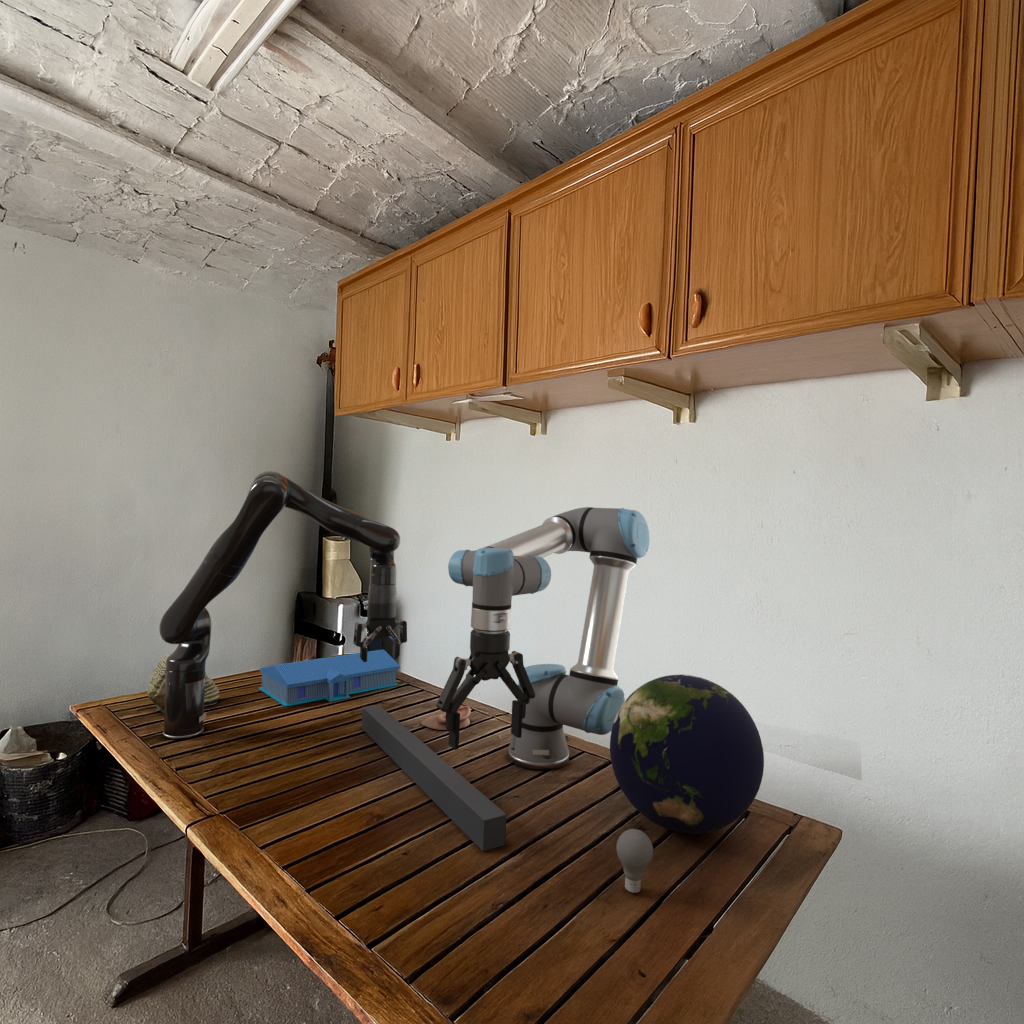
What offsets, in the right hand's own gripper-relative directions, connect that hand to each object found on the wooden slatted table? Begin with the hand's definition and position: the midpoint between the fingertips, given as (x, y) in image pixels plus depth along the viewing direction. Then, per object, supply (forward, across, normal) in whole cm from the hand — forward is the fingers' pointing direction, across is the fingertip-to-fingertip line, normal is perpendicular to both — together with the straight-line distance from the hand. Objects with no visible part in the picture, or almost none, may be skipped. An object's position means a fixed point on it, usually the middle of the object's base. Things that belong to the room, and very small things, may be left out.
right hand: (485, 741), depth 120 cm
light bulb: (+18, +14, -26) cm, 35 cm away
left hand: (-1, 0, +59) cm, 59 cm away
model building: (+18, 0, +102) cm, 104 cm away
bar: (+18, 0, +30) cm, 35 cm away
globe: (+18, +38, -14) cm, 45 cm away
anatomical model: (+18, +20, +57) cm, 63 cm away
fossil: (+18, -44, +102) cm, 112 cm away
